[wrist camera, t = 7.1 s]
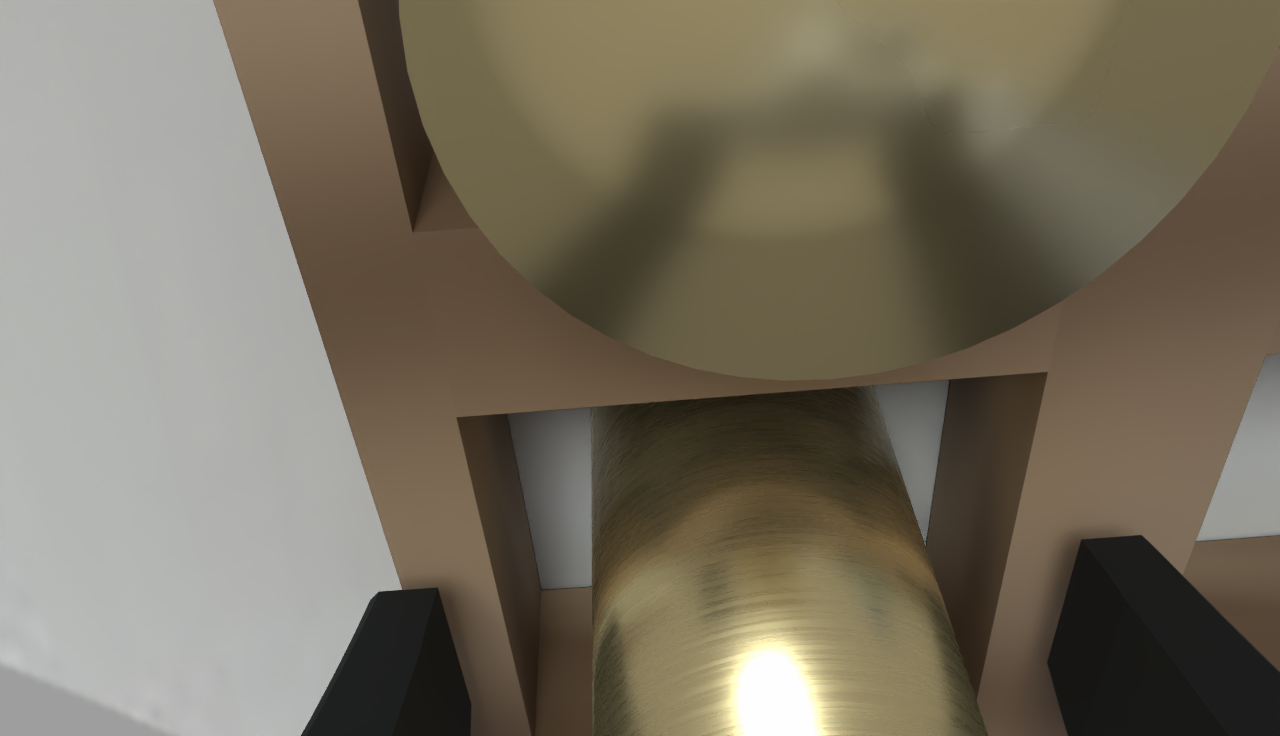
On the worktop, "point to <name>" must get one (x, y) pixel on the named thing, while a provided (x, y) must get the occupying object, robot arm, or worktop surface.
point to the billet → (825, 159)
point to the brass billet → (764, 575)
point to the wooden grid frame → (752, 386)
